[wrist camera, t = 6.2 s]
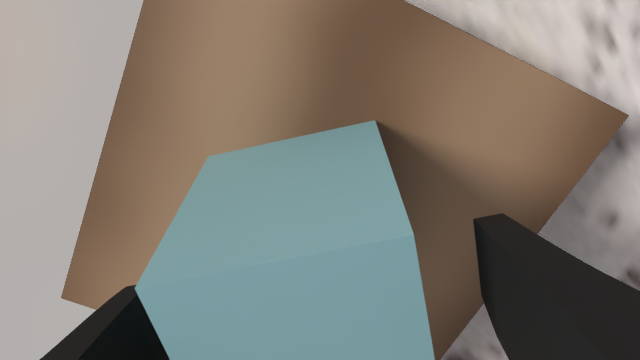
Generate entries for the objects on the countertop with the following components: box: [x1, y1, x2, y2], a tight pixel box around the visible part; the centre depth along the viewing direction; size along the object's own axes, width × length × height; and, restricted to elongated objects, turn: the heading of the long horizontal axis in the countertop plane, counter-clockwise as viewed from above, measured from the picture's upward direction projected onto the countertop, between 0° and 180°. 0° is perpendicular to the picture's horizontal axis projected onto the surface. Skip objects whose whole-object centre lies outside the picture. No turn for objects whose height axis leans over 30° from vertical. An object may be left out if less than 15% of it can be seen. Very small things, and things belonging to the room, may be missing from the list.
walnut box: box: [61, 0, 629, 360], centre depth 15 cm, size 12×12×4 cm
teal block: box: [135, 120, 435, 360], centre depth 11 cm, size 4×4×6 cm
